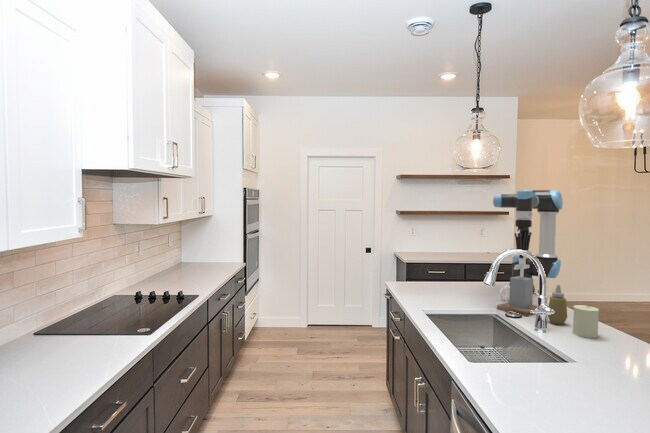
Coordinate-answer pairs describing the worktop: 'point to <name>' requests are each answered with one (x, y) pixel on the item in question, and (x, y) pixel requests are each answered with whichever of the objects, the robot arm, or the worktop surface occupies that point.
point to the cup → (506, 292)
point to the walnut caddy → (516, 309)
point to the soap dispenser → (521, 292)
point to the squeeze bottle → (558, 307)
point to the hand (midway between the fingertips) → (522, 264)
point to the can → (585, 321)
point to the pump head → (521, 269)
